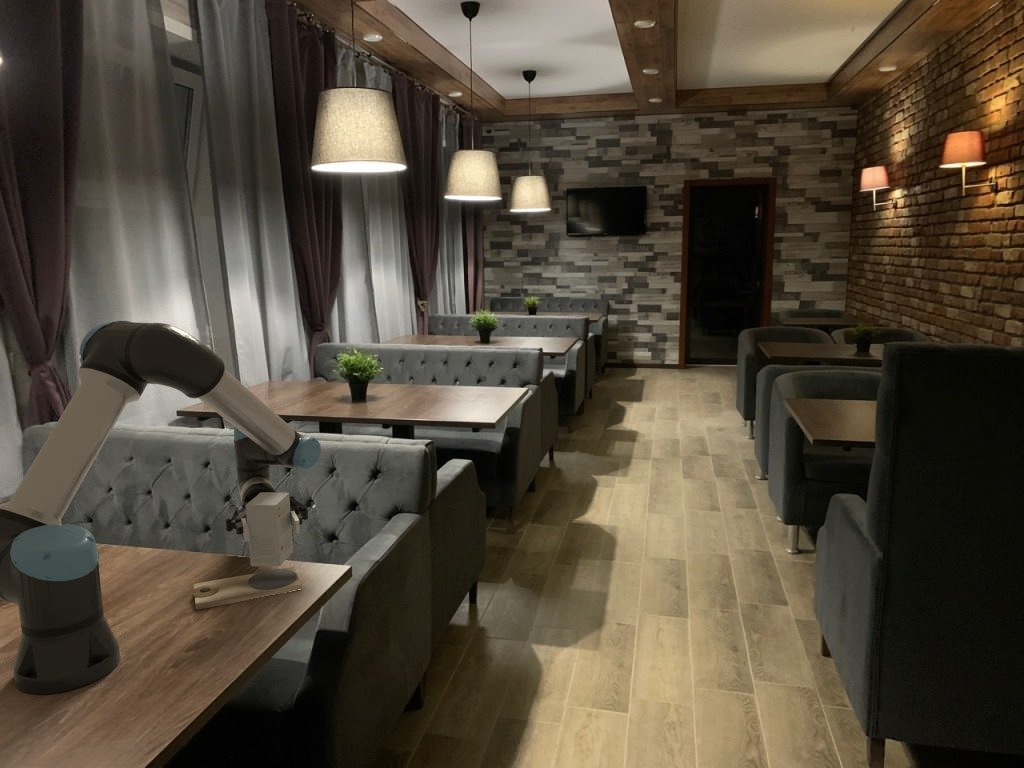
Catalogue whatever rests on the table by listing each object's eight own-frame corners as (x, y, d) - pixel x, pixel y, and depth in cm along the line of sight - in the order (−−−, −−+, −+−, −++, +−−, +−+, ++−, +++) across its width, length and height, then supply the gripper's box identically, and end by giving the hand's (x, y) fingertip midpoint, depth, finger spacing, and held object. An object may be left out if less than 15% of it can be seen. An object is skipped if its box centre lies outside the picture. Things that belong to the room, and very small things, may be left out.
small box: (264, 550, 161) (260, 491, 158) (294, 551, 160) (290, 491, 158) (249, 566, 153) (244, 504, 150) (280, 567, 152) (275, 504, 150)
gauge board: (302, 590, 155) (301, 582, 154) (193, 610, 146) (192, 602, 146) (294, 571, 164) (293, 564, 163) (191, 589, 155) (190, 582, 155)
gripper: (309, 507, 176) (328, 539, 156) (209, 521, 167) (215, 558, 147) (307, 475, 175) (326, 504, 155) (206, 489, 166) (212, 521, 146)
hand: (272, 531), depth 151 cm, fingers closed on small box, 9 cm apart
